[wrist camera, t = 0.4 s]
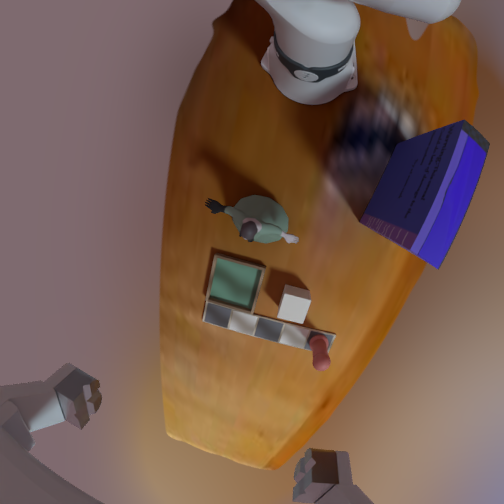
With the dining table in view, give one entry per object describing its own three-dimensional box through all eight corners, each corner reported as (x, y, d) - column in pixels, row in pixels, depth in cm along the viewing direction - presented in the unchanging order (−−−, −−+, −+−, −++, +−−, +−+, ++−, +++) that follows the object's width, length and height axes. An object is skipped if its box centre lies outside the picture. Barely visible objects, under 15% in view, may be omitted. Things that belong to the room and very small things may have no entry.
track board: (206, 300, 57) (206, 301, 56) (335, 334, 55) (336, 335, 54) (203, 320, 58) (202, 321, 57) (327, 353, 56) (327, 354, 55)
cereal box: (379, 234, 49) (439, 270, 26) (359, 222, 49) (410, 250, 26) (416, 157, 44) (490, 143, 21) (396, 143, 44) (465, 119, 21)
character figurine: (211, 219, 53) (173, 235, 35) (226, 179, 50) (193, 175, 33) (287, 252, 52) (285, 285, 35) (305, 212, 50) (313, 225, 32)
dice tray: (216, 252, 54) (214, 254, 52) (266, 266, 53) (265, 268, 52) (207, 297, 56) (205, 300, 55) (253, 311, 56) (252, 314, 54)
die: (285, 284, 54) (284, 293, 49) (309, 290, 53) (311, 300, 48) (278, 306, 55) (277, 317, 50) (302, 312, 55) (302, 323, 50)
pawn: (313, 332, 54) (315, 356, 46) (330, 336, 54) (336, 361, 45) (306, 347, 55) (308, 373, 47) (324, 351, 55) (328, 377, 46)
